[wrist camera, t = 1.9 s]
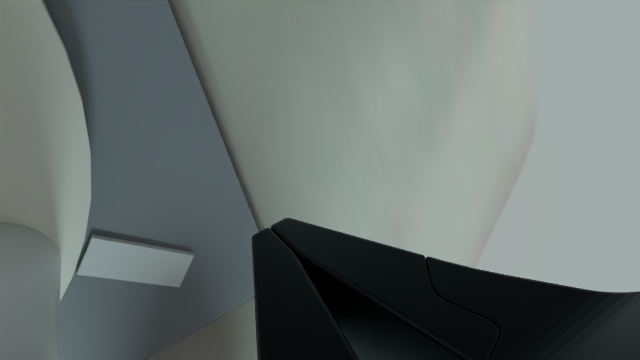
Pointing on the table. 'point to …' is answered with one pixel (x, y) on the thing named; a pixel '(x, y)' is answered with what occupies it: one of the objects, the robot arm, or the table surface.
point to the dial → (38, 179)
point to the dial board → (148, 189)
